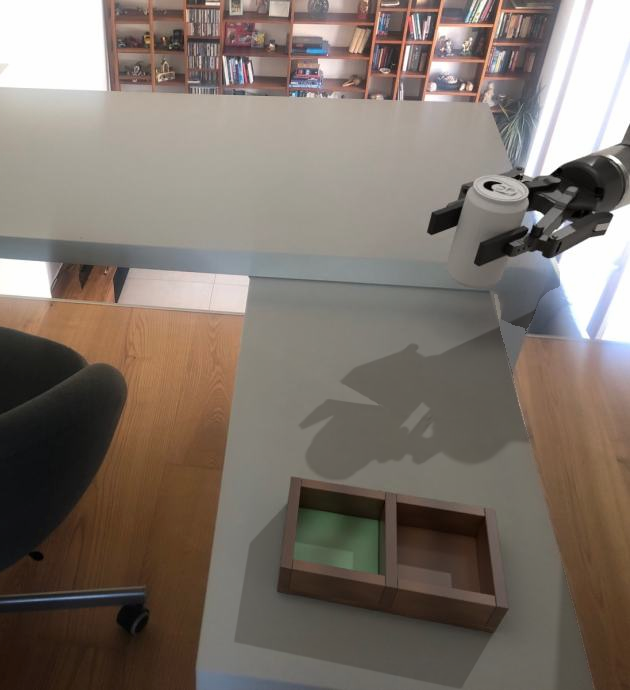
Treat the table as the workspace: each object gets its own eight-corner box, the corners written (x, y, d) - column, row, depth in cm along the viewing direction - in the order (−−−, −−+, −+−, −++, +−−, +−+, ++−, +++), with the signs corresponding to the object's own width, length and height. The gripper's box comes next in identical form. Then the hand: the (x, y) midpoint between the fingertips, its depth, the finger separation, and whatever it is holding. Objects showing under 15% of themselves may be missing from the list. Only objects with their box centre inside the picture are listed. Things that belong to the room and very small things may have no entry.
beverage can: (459, 254, 87) (486, 166, 78) (509, 274, 83) (542, 185, 75) (434, 277, 83) (459, 187, 75) (485, 299, 80) (517, 208, 72)
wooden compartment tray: (482, 535, 66) (495, 509, 63) (494, 633, 59) (509, 609, 56) (287, 502, 70) (291, 476, 67) (276, 591, 63) (280, 566, 60)
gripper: (655, 249, 81) (514, 313, 73) (521, 179, 93) (389, 226, 86) (686, 192, 76) (537, 253, 68) (539, 126, 88) (400, 171, 81)
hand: (455, 238), depth 77 cm, fingers closed on beverage can, 6 cm apart
